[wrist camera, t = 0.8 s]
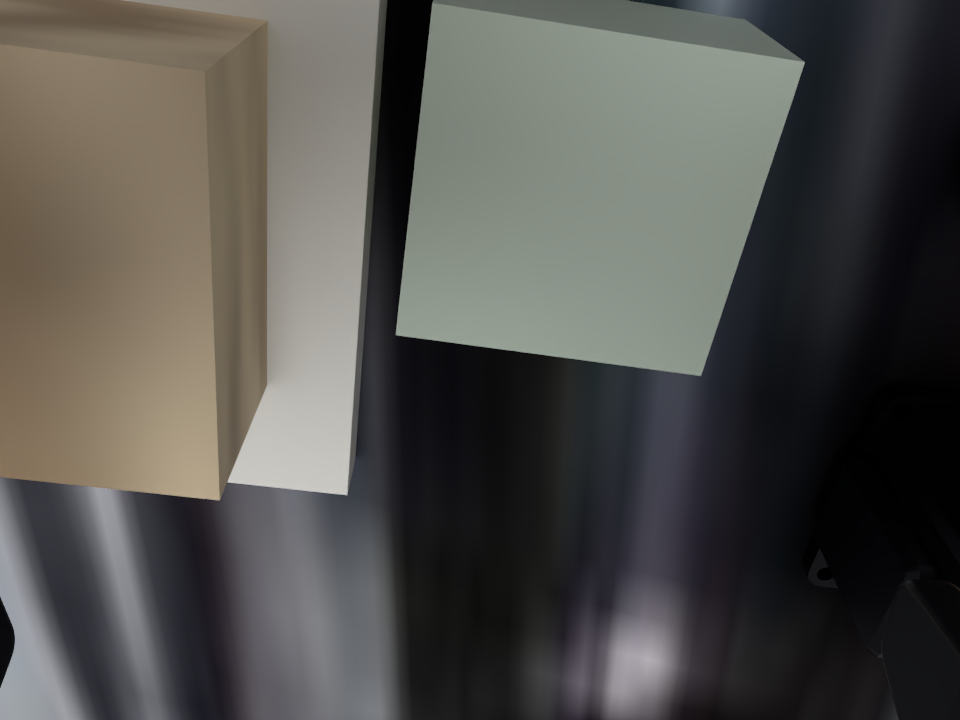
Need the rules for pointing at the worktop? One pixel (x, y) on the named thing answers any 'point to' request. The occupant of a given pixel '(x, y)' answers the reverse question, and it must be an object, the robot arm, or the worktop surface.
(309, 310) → the baseplate
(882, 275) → the worktop surface
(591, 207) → the sage brick
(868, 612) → the robot arm
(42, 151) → the wood brick
